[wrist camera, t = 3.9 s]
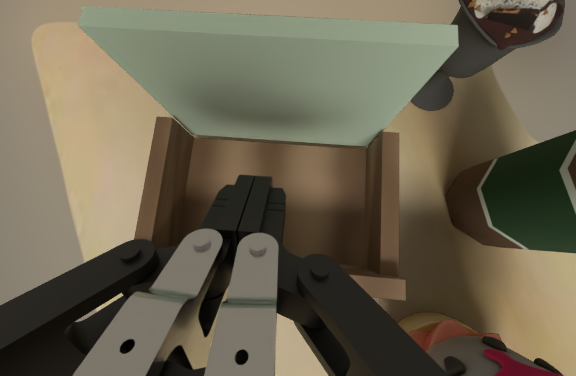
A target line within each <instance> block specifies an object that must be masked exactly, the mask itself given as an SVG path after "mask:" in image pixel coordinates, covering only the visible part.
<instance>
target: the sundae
mask: <svg viewBox="0 0 576 376" xmlns="http://www.w3.org/2000/svg"><path fill="white" fill-rule="evenodd" d="M459 2H460V4H461V7H460V9H459V12H458V13H457V15H456V17H455V19H454V20H453V22H452V23H451V25H458V44H459V47H458V48H457V49H456V50H455V51H454V52H453V53H452V54H451V55H450V57H449V58H448V59H447V60H446V61H445V62H444V63H443V64H442V66H441V67H440V69H439V70H437V71H436V72H435V73H434V74H433V76H432V77H431V78H430V79H429V80H428V81H427V82H426V83H425V84H424V86H423V87H422V88H421V89H420V90H419V91H418V92H417V93H416V95H415V96H414V97H413V98H412V99H411V102H412V103H413V104H414V105H416V106H417V107H419V108H421V109H424V110H428V111H433V110H439V109H441V108H443V107H445V106H447V104H448V103H449V102H450V101H451V99H452V96H453V92H454V89H453V85H452V82H451V81H450V79H449V77H450V76H451V77H455V78H465V77H469V76H472V75H474V74H476V73H477V72H479V71H481V70H483V69H485V68H487V67H488V66H490V65H492V64H493V63H495V62H496V61H498V60H499V59H501V58H502V57H503V56H505V55H507V54H508V53H510V52H511V51H513V50H514V49H516V48H520V47H525V46H530V45H534V44H537V43H539V42H541V41H544V40H546V39H548V38H550V37H552V36H554V35H555V34H556V33H557V31H558V30H559V29H560V27H561V24H562V20H563V14H564V7H565V0H459Z"/></svg>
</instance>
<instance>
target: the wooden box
mask: <svg viewBox="0 0 576 376" xmlns="http://www.w3.org/2000/svg"><path fill="white" fill-rule="evenodd" d="M239 175H255V176H270V177H272V179H273V188H283V190H284V192H285V194H286V211H285V226H284V234H283V243H282V245H283V246H284V248H285V249H286V250H287V251H288V252H290V253H291V254H293V255H295V256H298V257H301V258H304V257H306V256H308V255H311V254H323V255H326V256H329V257H331V258H332V259H334V260H335V261H336V262H337V263H338V264H339V265H340V266H341V267H342V268H343V269H344V270H345V271H346V272H347V273H348V274H349V275H350V276H351V277H352V278H353V279H354V280H355V281H356V282H357V283H358V284H359V285H360V286H361V287H362V288H363V289H364V290H365V291H366V292H367V293H368V294H369V295H370V296H371V297H372V298H383V299H394V300H405V301H406V280H405V279H403V278H400V277H399V133H393V132H382V133H381V134H380V135H379V136H378V137H377V139H376V140H375V141H374V142H373V143H372V144H371V145H370V146H369V147H368V149H367V150H363V149H348V148H334V147H320V146H305V145H291V144H277V143H262V142H248V141H234V140H219V139H205V138H194V137H193V136H192V135H190V134H189V133H188V132H187V131H186V130H185V129H184V128H183V127H182V126H181V125H180V124H179V123H178V122H177V121H175V120H174V119H173V118H169V117H157V118H156V124H155V129H154V135H153V140H152V146H151V151H150V156H149V162H148V167H147V173H146V178H145V183H144V189H143V194H142V200H141V205H140V211H139V216H138V221H137V227H136V232H135V238H134V240H135V239H146V240H149V241H151V242H152V243H153V244H154V246H155V249H159V248H165V247H170V246H176V245H179V244H180V243H181V242H182V240H183V239H184V238H185V237H186V236H187V235H188V234H190V233H192V232H194V231H196V230H199V229H200V227H201V225H202V223H203V221H204V219H205V217H206V215H207V213H208V211H209V209H210V207H211V206H212V204H213V202H214V200H215V198H216V196H217V194H218V192H219V190H221V189H222V188H223V187H224V186H226V185H227V184H229V185H235V182H236V180H237V178H238V176H239Z"/></svg>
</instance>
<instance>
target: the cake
mask: <svg viewBox="0 0 576 376" xmlns="http://www.w3.org/2000/svg"><path fill="white" fill-rule="evenodd" d="M398 324H399V325H400V327H401V328H402V329H403V330H404V331H405V332H406V333H407V334H408V335H409V336H410V337H411V338H412V339H413V340H414V341H415V342H416V343H417V344H418V345H419V346H420V347H421V348H422V349H423V350H424V351H425V352H426V353H427V354H428V355H429V356H430V357H431V358H432V359H433V360H434V361H435V362H436V363H437V364H438V365H439V366H440V367H441V368H442V369H443V370H444V371H445V372H446V373H447V374H448V375H449V376H563V375H562V374H561V373H560V372H559V371H558V370H557V369H555V368H554V367H553V366H551V365H550V364H549V363H547V362H546V361H544V360H542V359H540V358H537V359H535V360H534V362H532V361H531V360H529V359H527V358H525V357H523V356H522V355H520V354H518V353H516V352H514V351H512V350H511V349H509V348H507V347H506V346H505V344H504V343H503V342H502V340H501V338H500V336H499V334H494V333H489V334H479V333H478V332H476V331H475V330H473V329H472V328H470V327H469V326H467V325H465V324H463V323H461V322H459V321H458V320H456V319H454V318H452V317H449V316H446V315H443V314H439V313H436V312H423V313H416V314H413V315H410V316H408V317H405V318H403V319H401V320H400V321H399V322H398Z"/></svg>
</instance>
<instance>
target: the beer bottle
mask: <svg viewBox="0 0 576 376" xmlns="http://www.w3.org/2000/svg"><path fill="white" fill-rule="evenodd" d="M446 200H447V204H448V207H449V210H450V214H451V217H452V221H453V224H454V226H455V227H457V228H458V229H460V230H461V231H463V232H464V233H466V234H467V235H469V236H470V237H472V238H473V239H475V240H477V241H478V242H480V243H481V244H483V245H488V246H495V247H503V248H516V249H529V250H541V251H554V252H566V253H576V130H575V131H573V132H570V133H567V134H564V135H561V136H558V137H555V138H553V139H550V140H547V141H545V142H542V143H539V144H536V145H533V146H530V147H527V148H525V149H522V150H519V151H516V152H513V153H510V154H508V155H505V156H502V157H499V158H496V159H494V160H491V161H488V162H485V163H482V164H480V165H477V166H474V167H472V168H469V169H467V170H465V171H463V172H461V173H460V174H459V176H458V178H457V179H456V181H455V183H454V184H453V186H452V188H451V189H450V191H449V193H448V194H447V196H446Z"/></svg>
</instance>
